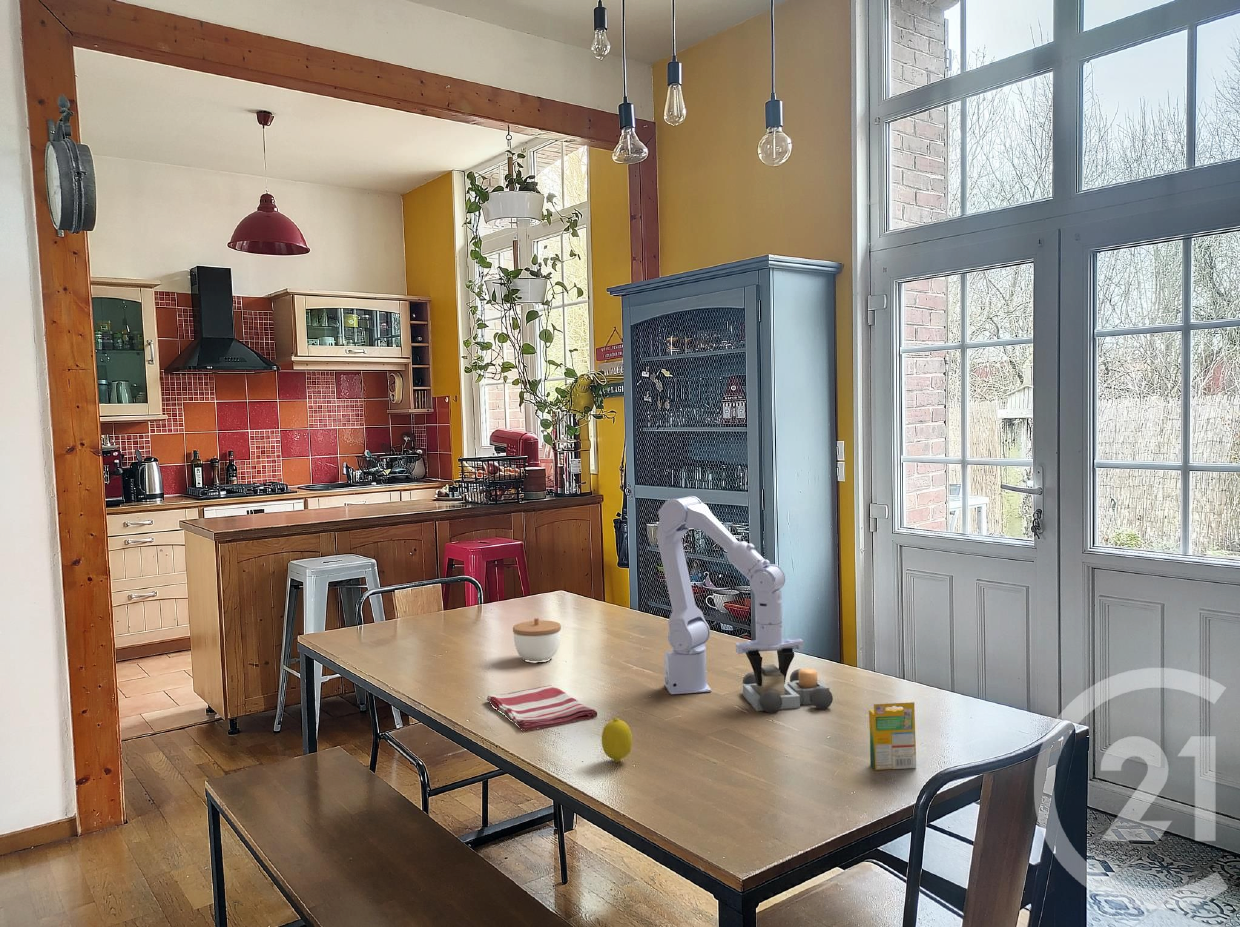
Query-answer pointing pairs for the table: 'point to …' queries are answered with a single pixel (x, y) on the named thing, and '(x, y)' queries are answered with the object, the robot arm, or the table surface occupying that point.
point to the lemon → (616, 739)
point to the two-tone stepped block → (771, 680)
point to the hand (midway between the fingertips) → (770, 683)
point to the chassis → (786, 695)
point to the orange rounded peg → (807, 678)
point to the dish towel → (541, 707)
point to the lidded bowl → (537, 639)
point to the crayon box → (892, 736)
